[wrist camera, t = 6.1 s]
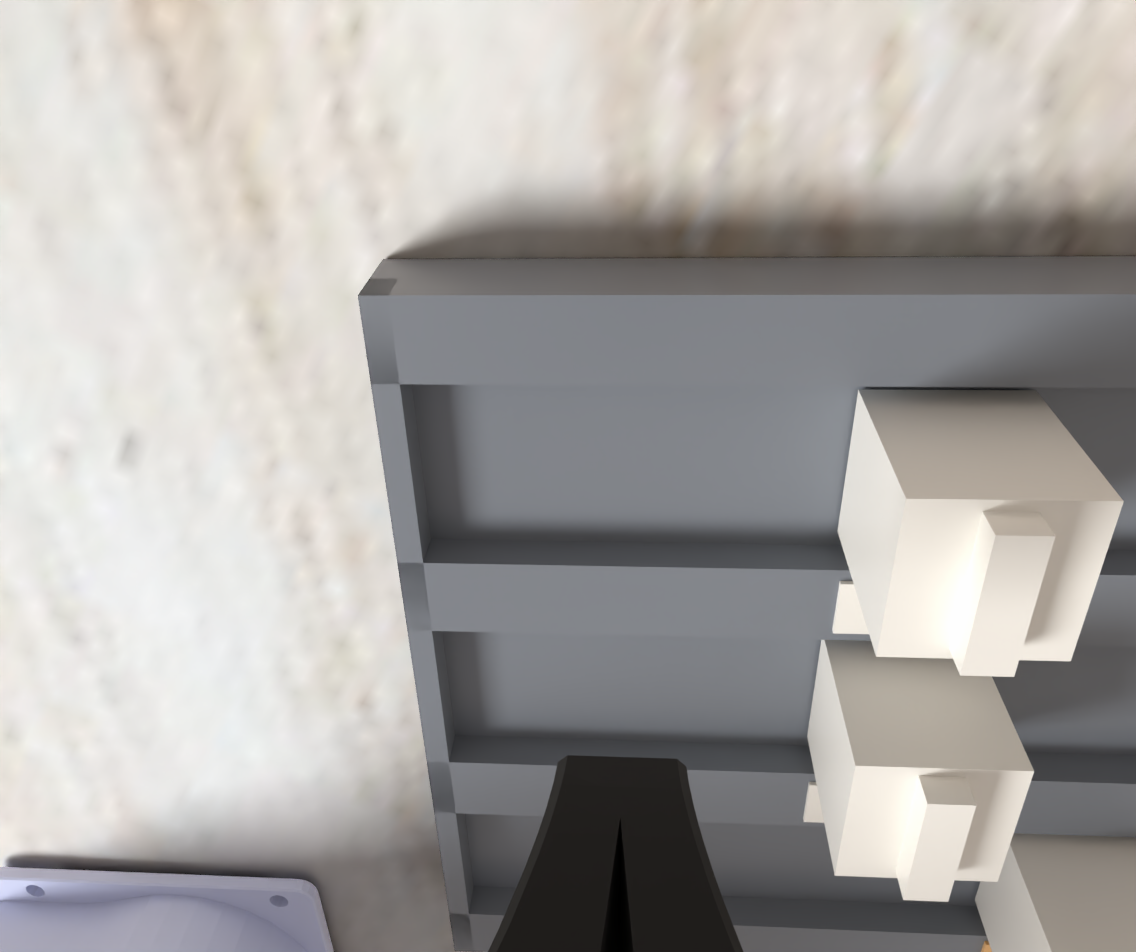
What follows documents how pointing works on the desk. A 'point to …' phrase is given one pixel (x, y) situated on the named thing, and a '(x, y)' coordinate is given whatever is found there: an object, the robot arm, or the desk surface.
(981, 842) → the tab
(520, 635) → the switch bank
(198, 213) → the desk surface
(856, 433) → the tab
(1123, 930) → the tab
